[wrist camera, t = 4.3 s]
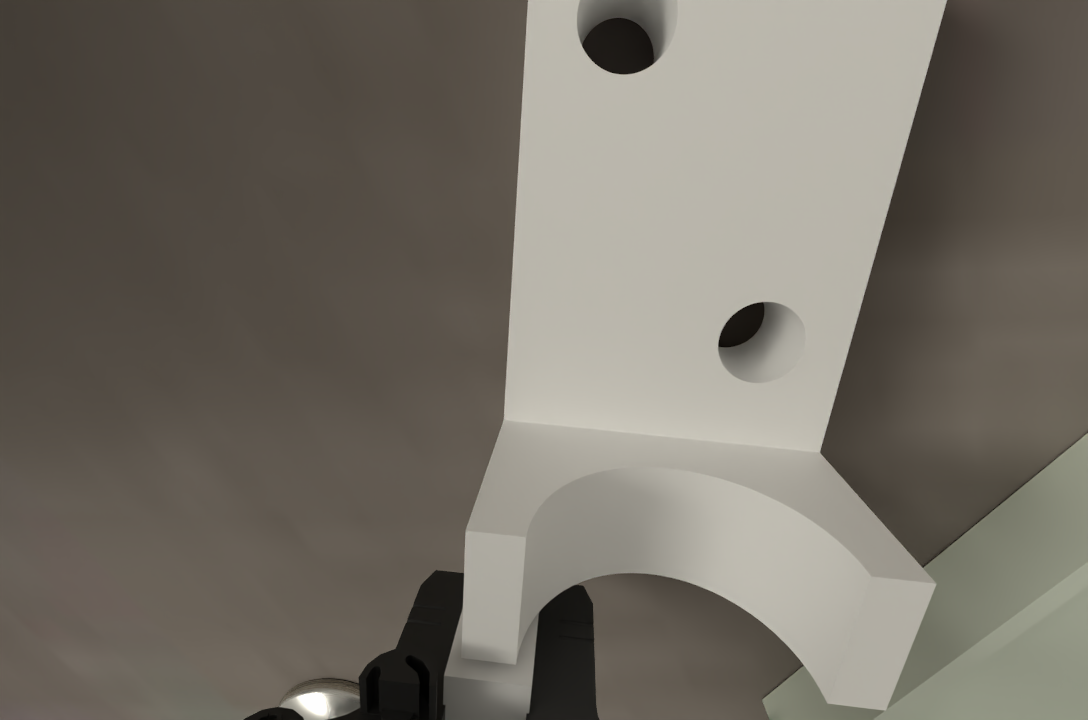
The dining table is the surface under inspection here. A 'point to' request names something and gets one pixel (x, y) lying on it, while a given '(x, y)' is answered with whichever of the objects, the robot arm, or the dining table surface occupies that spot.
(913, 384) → the dining table surface
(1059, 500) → the tray
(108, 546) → the dining table surface
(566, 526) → the bracket
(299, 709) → the metal knob
